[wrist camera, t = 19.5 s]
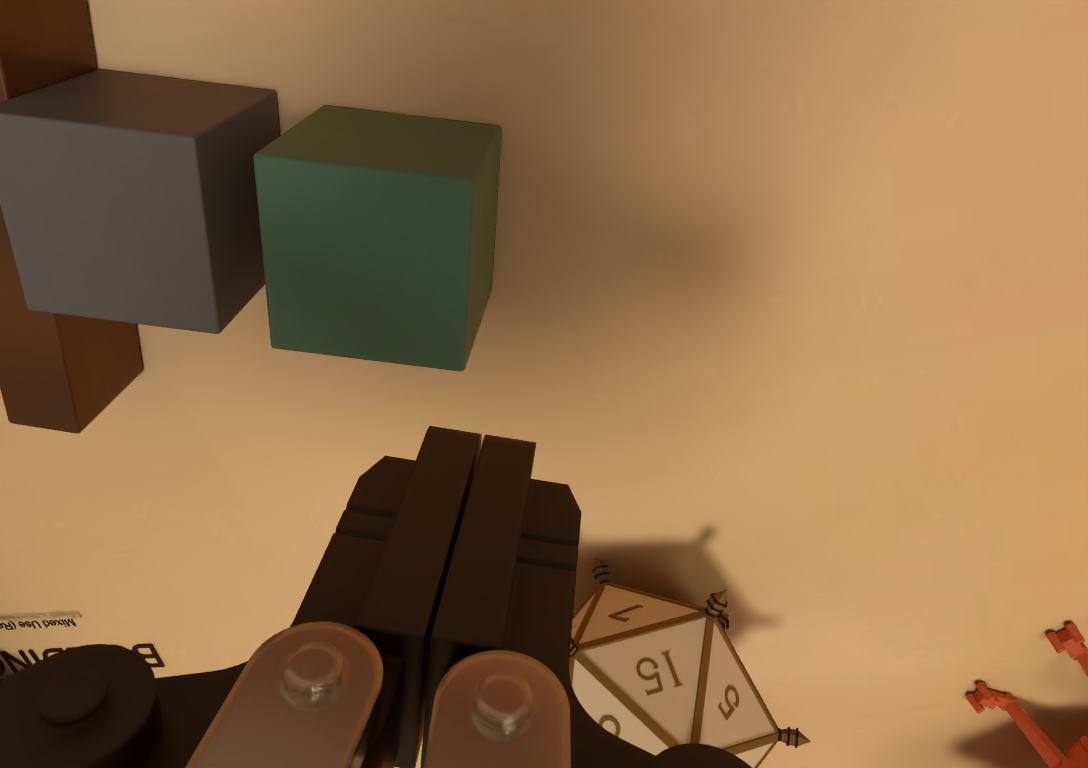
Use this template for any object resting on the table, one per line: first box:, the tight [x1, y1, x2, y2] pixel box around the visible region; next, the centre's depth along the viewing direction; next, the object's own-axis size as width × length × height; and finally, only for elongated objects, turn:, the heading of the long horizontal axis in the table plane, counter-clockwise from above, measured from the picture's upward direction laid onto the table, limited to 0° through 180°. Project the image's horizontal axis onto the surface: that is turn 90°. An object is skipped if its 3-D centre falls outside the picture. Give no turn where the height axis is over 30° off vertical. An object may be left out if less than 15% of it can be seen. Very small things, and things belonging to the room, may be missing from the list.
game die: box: [569, 558, 811, 768], centre depth 25 cm, size 9×8×10 cm
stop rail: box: [0, 0, 142, 433], centre depth 20 cm, size 14×2×4 cm, turn 173°
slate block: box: [0, 69, 279, 334], centre depth 20 cm, size 5×5×5 cm
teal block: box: [253, 106, 502, 371], centre depth 20 cm, size 5×5×5 cm
